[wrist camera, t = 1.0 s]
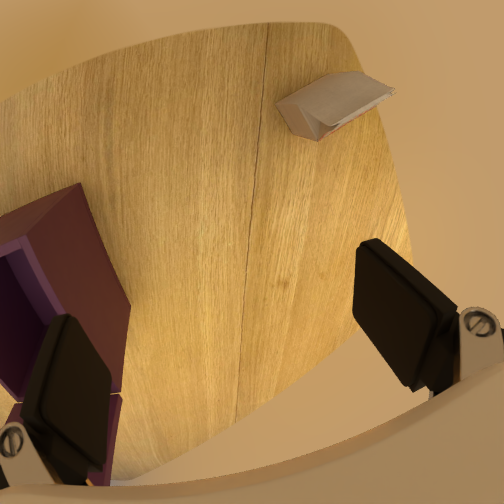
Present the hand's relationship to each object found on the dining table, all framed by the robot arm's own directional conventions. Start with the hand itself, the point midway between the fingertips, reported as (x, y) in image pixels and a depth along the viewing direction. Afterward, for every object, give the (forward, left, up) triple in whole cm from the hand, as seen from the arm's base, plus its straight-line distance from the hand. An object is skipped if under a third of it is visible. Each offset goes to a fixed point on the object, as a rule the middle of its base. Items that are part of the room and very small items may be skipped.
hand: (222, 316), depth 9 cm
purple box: (+6, -18, -22) cm, 29 cm away
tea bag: (-4, +13, -22) cm, 26 cm away
